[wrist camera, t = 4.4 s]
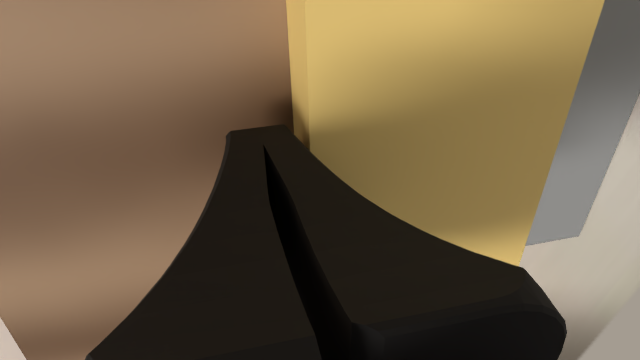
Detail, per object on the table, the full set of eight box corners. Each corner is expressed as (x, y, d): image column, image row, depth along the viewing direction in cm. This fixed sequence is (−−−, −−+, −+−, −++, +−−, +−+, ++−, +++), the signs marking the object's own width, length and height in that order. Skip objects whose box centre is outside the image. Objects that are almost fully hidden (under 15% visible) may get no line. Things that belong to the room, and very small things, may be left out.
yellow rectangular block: (483, 228, 16) (515, 274, 15) (301, 262, 15) (316, 315, 14) (558, -79, 11) (622, -56, 9) (282, -57, 10) (303, -28, 8)
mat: (574, 232, 24) (578, 236, 24) (376, 267, 23) (378, 272, 22) (828, -379, 12) (841, -382, 12) (439, -407, 10) (445, -411, 10)
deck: (365, 269, 22) (396, 346, 19) (78, 321, 20) (61, 416, 17) (416, -408, 10) (522, -495, 7) (-289, -458, 8) (-572, -612, 5)
